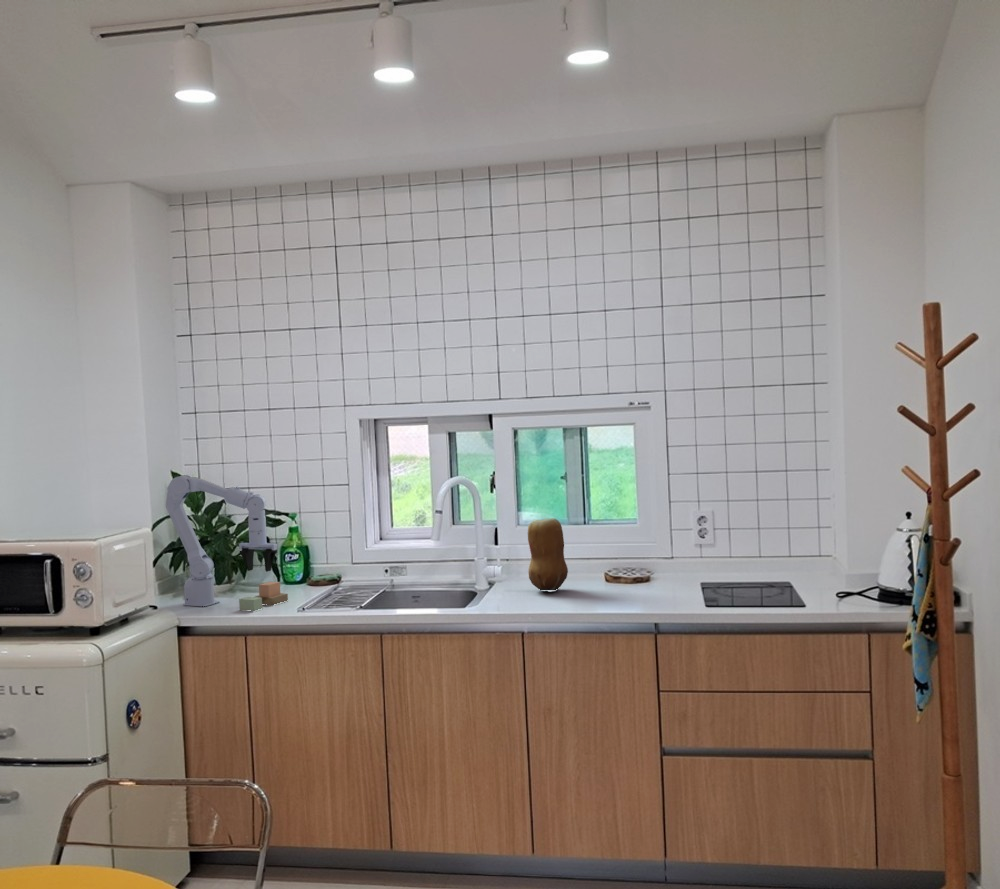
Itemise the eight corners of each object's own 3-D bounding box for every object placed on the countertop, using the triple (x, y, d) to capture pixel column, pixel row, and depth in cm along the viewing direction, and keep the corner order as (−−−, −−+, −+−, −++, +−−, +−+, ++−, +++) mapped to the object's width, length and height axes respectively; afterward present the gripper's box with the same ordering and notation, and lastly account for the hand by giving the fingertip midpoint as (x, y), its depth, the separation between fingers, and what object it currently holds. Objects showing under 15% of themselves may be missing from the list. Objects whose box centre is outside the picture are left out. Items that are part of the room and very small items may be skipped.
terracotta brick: (270, 593, 324) (270, 581, 324) (280, 593, 323) (279, 582, 322) (259, 596, 319) (258, 584, 319) (268, 597, 317) (268, 585, 317)
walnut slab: (253, 605, 319) (253, 597, 319) (268, 601, 326) (268, 592, 326) (272, 607, 315) (272, 598, 315) (287, 602, 323) (287, 593, 323)
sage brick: (239, 611, 309) (239, 599, 309) (247, 608, 313) (247, 596, 313) (254, 612, 307) (253, 600, 306) (262, 609, 310) (261, 597, 310)
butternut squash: (529, 588, 330) (526, 516, 329) (568, 587, 329) (565, 515, 328) (528, 596, 316) (526, 521, 315) (569, 595, 315) (567, 520, 315)
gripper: (232, 531, 323) (234, 571, 323) (267, 532, 317) (269, 573, 317) (245, 529, 329) (247, 568, 330) (280, 530, 323) (282, 569, 324)
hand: (259, 570), depth 324 cm, fingers open, 7 cm apart
